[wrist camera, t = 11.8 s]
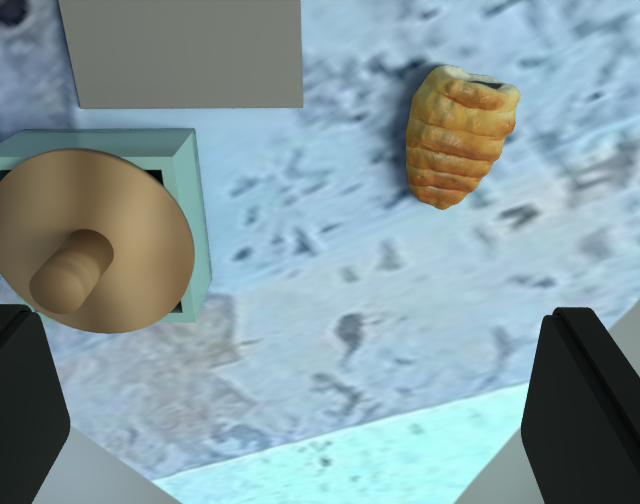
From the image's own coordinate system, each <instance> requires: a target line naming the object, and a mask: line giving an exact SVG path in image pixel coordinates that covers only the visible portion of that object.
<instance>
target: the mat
mask: <svg viewBox="0 0 640 504" xmlns="http://www.w3.org/2000/svg"><path fill="white" fill-rule="evenodd" d="M58 1H59V6H60V10H61V15H62V20H63V25H64V30H65V35H66V39H67V44H68V49H69V54H70V59H71V64H72V68H73V73H74V78H75V83H76V88H77V93H78V97H79V102H80V107H81V109H158V108H303V84H302V45H301V7H300V0H58Z"/></svg>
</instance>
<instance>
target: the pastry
mask: <svg viewBox="0 0 640 504" xmlns="http://www.w3.org/2000/svg"><path fill="white" fill-rule="evenodd" d="M519 100H520V92H519V90H518V89H517V88H516V87H515V86H514V85H510V84H504V83H500V82H499V80H497V79H495V78H492V77H488V76H480V75H474V74H467V73H466V72H465V71H464V70H463V69H461V68H459V67H455V66H450V65H443V66H438V67H436V68H435V69H434V70H432V71H431V72H430V73H429V74H428V76H427V77H426V78H425V80H424V81H423V83H422V85H421V86H420V87H419V89H418V90H417V91H416V93H415V94H414V96H413V98H412V101H411V110H410V115H409V120H408V125H407V129H406V174H407V183H408V186H409V187H410V189H411V191H412V192H413V194H414V195H415V196H416V197H417V198H418V199H419V200H420V201H421V202H424V203H426V204H429V205H432V206H434V207H435V208H437V209H441V210H445V209H447V208H449V207H450V206H452V205H455V204H458V203H459V202H461V201H462V200H463V199H464V197H465V196H466V195H467V194H468V193H470V192H472V191H474V190H475V189H476V188H477V187H478V184H479V182H480V180H481V179H482V178H483V177H484V176H485V175H487V174H488V172H489V171H490V169H491V166H492V164H493V162H494V161H496V160H497V159H499V157H500V155H501V153H502V146H503V143H504V141H505V138H506V136H507V135H509V134H510V133H511V132H512V131H513V130H514V127H515V124H516V122H515V110H516V106H517V103H518V102H519Z"/></svg>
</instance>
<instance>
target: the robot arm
mask: <svg viewBox="0 0 640 504" xmlns="http://www.w3.org/2000/svg"><path fill="white" fill-rule="evenodd" d="M69 432H70V417H69V413H68V410H67V407H66V403H65V400H64V396H63V393H62V389H61V386H60V382H59V379H58V375H57V372H56V368H55V365H54V361H53V358H52V355H51V351H50V348H49V344H48V341H47V337H46V334H45V330H44V327H43V323H42V320H41V317H40V315H39V314H38V313H36V312H32V310H31V308H30V307H29V306H27V305H25V304H0V504H32V502H33V500H34V498H35V496H36V495H37V493H38V491H39V489H40V487H41V485H42V484H43V482H44V480H45V478H46V476H47V474H48V473H49V471H50V469H51V467H52V465H53V464H54V462H55V460H56V458H57V456H58V455H59V452H60V450H61V449H62V447H63V445H64V443H65V442H66V440H67V438H68V435H69ZM521 437H522V442H523V446H524V448H525V451H526V454H527V457H528V459H529V462H530V465H531V467H532V470H533V473H534V475H535V478H536V481H537V484H538V486H539V489H540V492H541V494H542V497H543V500H544V503H545V504H640V377H639V376H638V375H637V373H636V372H635V370H634V369H633V367H632V366H631V364H630V363H629V361H628V360H627V359H626V357H625V356H624V354H623V353H622V351H621V350H620V349H619V347H618V346H617V344H616V343H615V341H614V340H613V338H612V337H611V336H610V334H609V333H608V331H607V330H606V328H605V327H604V326H603V324H602V323H601V321H600V320H599V318H598V317H597V315H596V314H595V313H594V311H593V310H592V309H591V308H588V307H557V308H556V309H555V310H554V311H553V314H552V315H546V316H544V318H543V321H542V324H541V329H540V334H539V339H538V344H537V349H536V354H535V359H534V364H533V369H532V374H531V379H530V383H529V388H528V393H527V398H526V403H525V408H524V413H523V418H522V423H521Z"/></svg>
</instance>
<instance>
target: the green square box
mask: <svg viewBox="0 0 640 504" xmlns="http://www.w3.org/2000/svg"><path fill="white" fill-rule="evenodd" d="M61 148H88V149H93V150H99V151H103V152H107V153H110V154H113V155H116V156H119V157H121V158H123V159H126V160H128V161H130V162H132V163H133V164H135V165H137V166H139V167H140V168H142V169H144V170H145V171H146V172H148V173H149V174H150V175H152V176H153V177H154V178H156V179H157V180H158V181H159V182H160V183H161V184H162V185H163V186H164V187H165V188H166V189H167V190H168V191H169V192H170V194H171V195H172V196H173V197H174V198H175V200H176V201H177V203H178V204H179V206H180V207H181V209H182V211H183V213H184V215H185V216H186V218H187V220H188V223H189V226H190V229H191V232H192V236H193V241H194V248H195V262H194V269H193V273H192V277H191V280H190V282H189V284H188V287H187V289H186V291H185V294H184V295H183V297H182V298H181V300H180V302H179V303H178V304H177V305H176V306H175V308H174V309H173V310H172V311H171V312H170V313H168V314H167V315H166V316H165V317H164V318H162V319H160V320H159V321H157V322H179V323H196V320H197V318H198V315H199V313H200V310H201V307H202V305H203V302H204V299H205V297H206V294H207V291H208V289H209V286H210V284H211V281H212V271H211V262H210V254H209V245H208V236H207V228H206V219H205V211H204V202H203V193H202V185H201V176H200V167H199V159H198V150H197V142H196V133H195V129H24V130H22V131H20V132H18V133H17V134H15V135H13V136H12V137H10V138H8V139H6V140H5V141H3V142H1V143H0V182H1V181H2V179H3V178H4V177H5V176H6V175H7V174H8V173H9V172H10V171H12V170H13V169H14V168H15V167H17V166H18V165H20V164H21V163H22V162H24V161H26V160H28V159H29V158H31V157H33V156H35V155H38V154H41V153H43V152H46V151H50V150H55V149H61ZM18 297H19V300H20V304H25V305H27V306H29V307H30V308H31V310H32V312H36V313H38V314H39V315H40V317H41V320H42V322H57V321H55V320H53V319H51V318H49V317H47V316H45V315H44V314H42V313H40V312H39V311H37V310H36V309H34V308H33V307H32V306H30V305H29V304H28V303H27V302H25V301H24V300H23V299H22V298H21V297H20V296H19V295H18Z"/></svg>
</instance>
